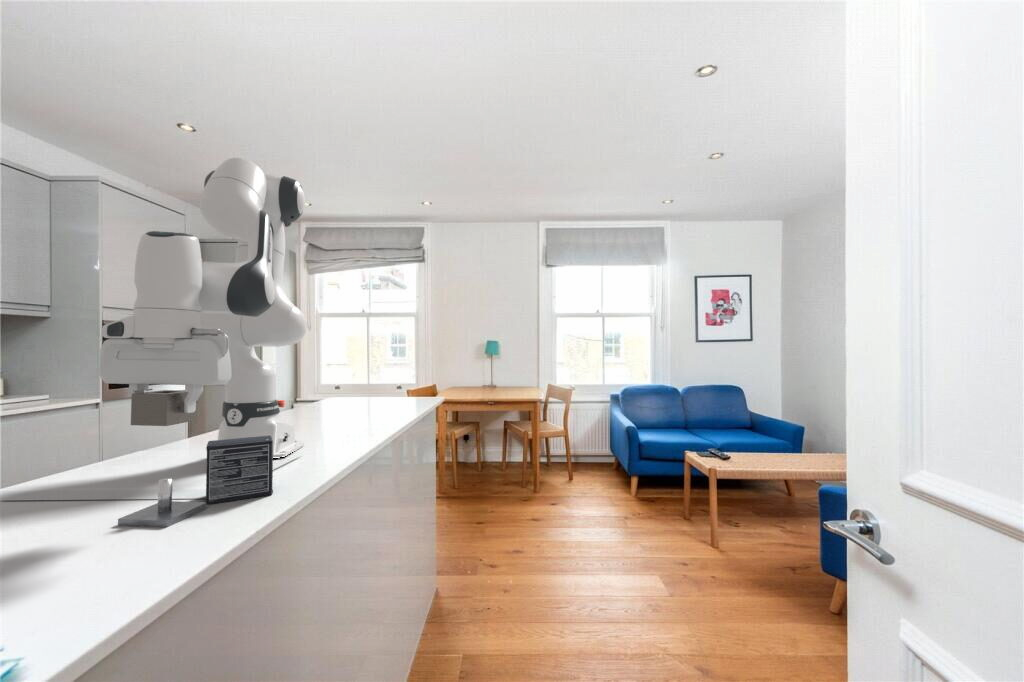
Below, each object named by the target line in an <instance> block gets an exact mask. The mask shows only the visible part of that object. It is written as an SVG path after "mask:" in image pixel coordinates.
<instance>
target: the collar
mask: <svg viewBox="0 0 1024 682" xmlns="http://www.w3.org/2000/svg"><path fill="white" fill-rule="evenodd" d="M188 393H189V392H186V391H185V389H184V390H179V389H178V390H175V389H174V390H172V389H170V390H169V389H163V390H161V389H160V390H154V391H153V390H152V391H146V392H141V393H132V395H131V401H130V403H131V404H130V426H145V427H148V426H149V427H150V426H151V427H169V426H174V425H178V424H179V425H180V424H183V423H188V422H195V421H198V400H197V401H196V410H195V412H192V413H180V412H179V408H180V407H179V402H184V400H185V398H186V396H187V395H188Z"/></svg>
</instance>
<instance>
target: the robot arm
mask: <svg viewBox="0 0 1024 682" xmlns="http://www.w3.org/2000/svg"><path fill="white" fill-rule="evenodd" d="M203 183H204V185H203V190H202V192H201V194H200V198H199V209H200V213H201V215H202V216H203V218H204V219H205V221H206V222H207V223H208V224H209V225H210V226H211V227H212V228H213V229H215V230H216V231H218V232H219V233H221V234H223V235H224V236H227V237H229V238H233V239H237V246H236V253H235V259H234V262H221V261H219V262H218V261H205V260H204V259H203V258H202V251H201V250H202V249H201V244H200V241H199V238H198V236H195V235H193V234H190V233H184V232H174V231H159V230H158V231H156V230H155V231H154V230H153V231H147V232H146V233H143V234H142V235H141V237H140V238H139V241H138V242H139V243H138V245H137V249H136V255H135V264H134V276H133V277H134V280H133V281H134V282H133V283H134V285H135V288H136V294H137V295H136V299H135V301H134V304H133V312H132V313H133V314H132V315H129V316H126V317H123V318H120V319H117V320H115V321H112V322H110V323H106V324H103V326H101V336H102V337H103V338H104V339H105V341H104V342H103V343H102V345H101V348H100V354H99V376H100V378H101V380H102V381H103V383H104V384H113V385H114V384H117V385H118V384H121V385H124V384H125V385H128V391H129V393H130V395H131V396H132V393H141V392H147V391H148V390H150V389H149V385H166V386H167V385H169V386H172V385H173V386H175V385H178V386H184V387H185V388H184V390H185V391H186V392H189V393H188V395H187V396H186V398H185V400H184V402H179V407H180V408H179V412H180V413H192V412H195V410H196V401H197V402H198V400H199V398H200V397H201V395H202V394H203V392H204V386H223V385H224V401H223V402H222V407H221V412H222V413H221V416H222V417H223V420H222V422H221V423H220V424H219V428H218V434H217V435H218V436H217V440H225V439H236V438H247V437H258V436H269V435H270V436H271V437H272V440H273V457H282V456H286V455H288V454H290V453H291V454H293V453H295V452H296V451H298V450H300V449H301V448H302V447H305V443H304V442H303V441H301V440H300V441H299V440H295V436H296V435H295V427H294V425H293V424H292V423H291V422H290V421H288V420H287V419H286V418H285V417H283V416H282V415H281V414H280V413H281V410H280V408H285V406H286V401H285V399H276V398H277V397H276V392H277V389H276V386H277V373H276V370H275V369H274V367H272V366H271V365H270V364H269V363H268V362H266V361H263V360H261V359H260V358H259V357H258V355H257V353H256V350H255V347H269V348H270V347H271V348H272V347H273V348H274V347H277V348H278V347H284V346H286V347H287V346H291V345H295V344H298V343H300V342H301V340H303V338H304V336H305V334H306V332H307V328H308V323H307V320H306V316H305V314H304V313H303V311H302V310H300V309H299V307H297V306H296V305H295V304H294V303H293V302H292V301H291V300H290V299H289V297H288V295H287V293H286V290H285V286H284V271H285V269H284V267H285V260H286V259H285V258H286V232H285V227H286V228H288V227H290V226H292V223H294V222H296V221H297V220H298V219H300V217H301V216H302V215H303V213H304V210H305V206H306V196H305V192H304V189H303V186H302V184H301V183H300V182H299V181H298V180H296V179H294V178H291V177H288V176H279V175H275V174H272V173H271V174H270V173H265V172H264V171H263V169H261V168H260V167H259V165H257V163H254V162H253V161H251V160H249V159H246V158H242V157H231V158H228V159H226V160H224V161H223V162H221V164H220V165H219V166H218V167H217V168H216V169H214V170H211V172H209V173H208V174H207V175H206V177H205V178H204V182H203ZM294 451H295V452H294ZM292 452H293V453H292ZM291 454H290V455H291ZM288 456H289V455H288Z"/></svg>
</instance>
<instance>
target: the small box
mask: <svg viewBox="0 0 1024 682" xmlns="http://www.w3.org/2000/svg"><path fill="white" fill-rule="evenodd" d="M205 448H206V449H205V450H206V469H205V470H206V471H205V472H206V475H205V476H206V478H205V480H206V483H205V501H204V502H207V506H209V505H214V504H221V503H227V502H234V501H239V500H241V501H242V500H247V499H253V498H260V497H266V496H267V497H268V496H272V495H273V494H274V489H273V475H274V474H273V472H274V469H273V464H274V463H273V462H274V461H273V460H274V459H273V440H272V437H271V436H270V435H269V436H258V437H247V438H236V439H225V440H218V439H216V440H215V439H214V440H208V442H207V444H206V447H205Z"/></svg>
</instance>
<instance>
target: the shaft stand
mask: <svg viewBox="0 0 1024 682" xmlns="http://www.w3.org/2000/svg"><path fill="white" fill-rule="evenodd" d="M157 483H158V485H157V486H158V487H157V503H155V504H152V505H149V506H146V507H144V508H142V509H138V510H137V511H134V512H132V513H129V514H126V515H124V516H122V517H119V518H118V519H117V526H123V527H125V526H126V527H127V526H128V527H151V528H153V527H154V528H168V527H171V526H173V525H175V524H178V523H179V522H181V521H183V520H186V519H187V518H190V517H191V516H193V515H196V514H198V513H200V512H202V511H204V510H206V509H207V506H208V505H207V502H205V501H204V502H202V501H178V500H177V501H174V500H173V478H172V477H167V478H166V477H165V478H161V479H158V481H157Z"/></svg>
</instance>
